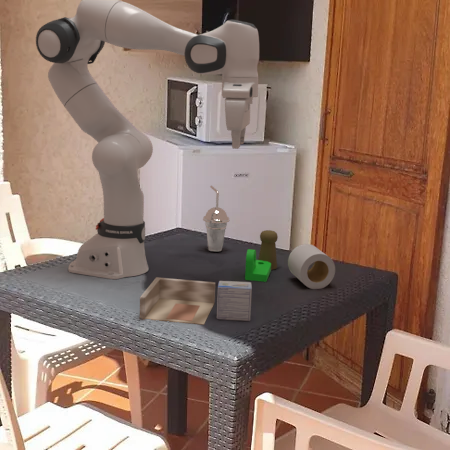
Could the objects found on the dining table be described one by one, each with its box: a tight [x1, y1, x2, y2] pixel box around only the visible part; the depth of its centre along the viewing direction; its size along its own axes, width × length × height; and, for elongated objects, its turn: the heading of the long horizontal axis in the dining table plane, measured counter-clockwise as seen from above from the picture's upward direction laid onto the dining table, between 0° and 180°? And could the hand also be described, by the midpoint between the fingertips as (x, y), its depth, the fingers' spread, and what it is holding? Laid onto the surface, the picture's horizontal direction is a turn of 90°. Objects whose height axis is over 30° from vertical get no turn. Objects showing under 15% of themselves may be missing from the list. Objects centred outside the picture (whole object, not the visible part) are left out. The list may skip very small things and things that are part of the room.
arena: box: [139, 276, 216, 326], centre depth 159 cm, size 15×15×6 cm
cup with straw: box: [202, 185, 230, 252], centre depth 213 cm, size 8×9×20 cm
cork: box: [257, 229, 279, 271], centre depth 197 cm, size 6×6×11 cm
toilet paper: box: [287, 243, 336, 290], centre depth 184 cm, size 10×10×10 cm
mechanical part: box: [244, 248, 272, 283], centre depth 190 cm, size 12×6×8 cm, turn 169°
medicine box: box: [216, 280, 253, 322], centre depth 156 cm, size 8×4×9 cm, turn 88°
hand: (238, 146), depth 166 cm, fingers open, 8 cm apart
